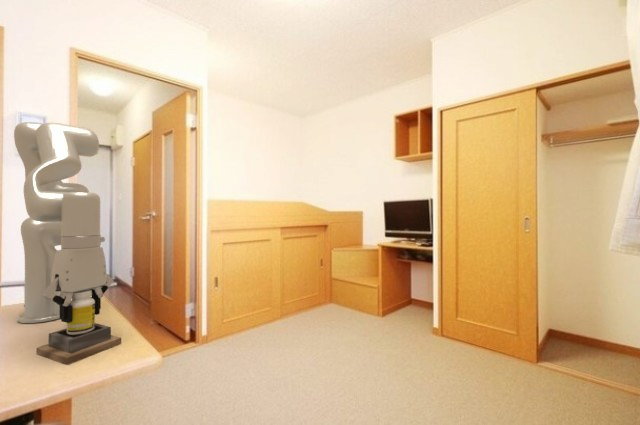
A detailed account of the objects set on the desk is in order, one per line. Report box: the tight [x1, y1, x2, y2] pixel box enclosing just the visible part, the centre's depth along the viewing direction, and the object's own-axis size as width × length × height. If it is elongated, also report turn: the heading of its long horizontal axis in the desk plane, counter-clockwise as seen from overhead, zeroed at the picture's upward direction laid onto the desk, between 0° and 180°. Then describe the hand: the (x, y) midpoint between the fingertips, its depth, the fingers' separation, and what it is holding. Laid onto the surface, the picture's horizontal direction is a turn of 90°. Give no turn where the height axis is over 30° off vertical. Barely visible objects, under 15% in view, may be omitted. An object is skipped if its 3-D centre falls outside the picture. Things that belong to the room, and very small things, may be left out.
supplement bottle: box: [66, 289, 96, 335], centre depth 76 cm, size 5×5×10 cm
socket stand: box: [36, 322, 122, 366], centre depth 76 cm, size 12×12×4 cm
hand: (80, 316), depth 76 cm, fingers closed on supplement bottle, 5 cm apart
